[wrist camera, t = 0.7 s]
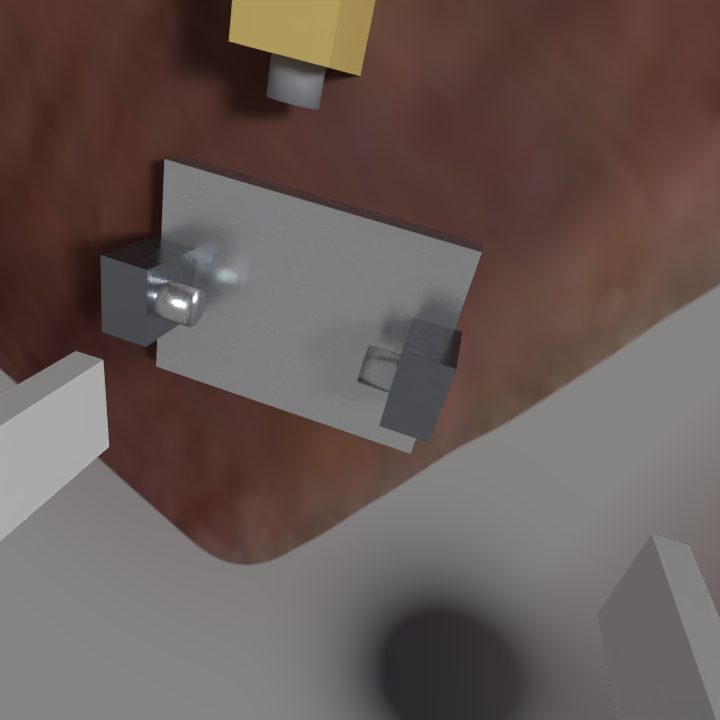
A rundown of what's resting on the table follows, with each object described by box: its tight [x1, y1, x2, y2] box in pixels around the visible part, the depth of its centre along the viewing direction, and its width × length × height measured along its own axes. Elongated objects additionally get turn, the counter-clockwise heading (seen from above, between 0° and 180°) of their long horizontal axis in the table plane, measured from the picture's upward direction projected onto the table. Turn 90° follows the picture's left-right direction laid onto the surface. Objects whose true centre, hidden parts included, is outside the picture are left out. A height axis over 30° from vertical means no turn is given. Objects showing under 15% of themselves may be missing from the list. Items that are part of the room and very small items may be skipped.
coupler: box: [229, 0, 375, 109], centre depth 25 cm, size 9×5×6 cm, turn 167°
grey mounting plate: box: [101, 157, 483, 454], centre depth 32 cm, size 21×15×7 cm
